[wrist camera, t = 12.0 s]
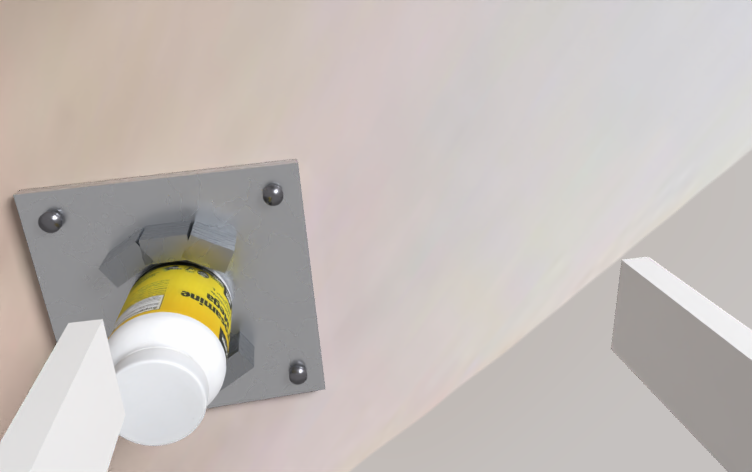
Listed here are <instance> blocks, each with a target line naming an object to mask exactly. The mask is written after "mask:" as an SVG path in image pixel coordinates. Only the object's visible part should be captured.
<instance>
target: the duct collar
mask: <svg viewBox="0 0 752 472" xmlns="http://www.w3.org/2000/svg"><path fill="white" fill-rule="evenodd" d="M13 196H14V199H15V203H16V206H17V210H18V213H19V216H20V220H21V223H22V226H23V230H24V233H25V237H26V240H27V243H28V247H29V250H30V254H31V257H32V260H33V264H34V267H35V271H36V274H37V277H38V281H39V284H40V288H41V291H42V294H43V298H44V301H45V304H46V308H47V311H48V315H49V318H50V321H51V325H52V328H53V332H54V335H55V338H56V342H58V340H59V339H60V337H61V335H62V333H63V332H64V330H65V328H66V327H67V325H68V323H73V322H81V321H90V320H99V319H103V322H104V327H105V331H106V335H107V339H108V337H109V335H110V333H111V331H112V329H113V327H114V325H115V323H116V320H117V318H118V316H119V314H120V312H121V310H122V307H123V305H124V303H125V301H126V299H127V296H128V294H129V292H130V290H131V288H132V286H133V285H134V283H135V281H136V280H137V279H138V278H139V276H140V275H141V274H142V273H143V272H145V271H146V270H147V269H148V268H150V267H152V266H153V265H156V264H158V263H166V262H173V261H181V260H188V261H191V262H194V263H197V264H200V265H202V266H205V267H208V268H211V269H213V270H214V271H216V272H217V273H218V274H219V275H220V276H221V277H222V279H223V280H224V281H225V283H226V285H227V286H228V289H229V291H230V294H231V299H232V318H231V329H230V341H229V350H228V360H227V368H226V374H225V378H224V382H223V385H222V387H221V389H220V391H219V393H218V394H217V396H216V397H215V398H214V400H213V401H212V402H211V403H210V404H209V405H208V406H207V407H206V408H212V407H219V406H225V405H231V404H237V403H243V402H249V401H256V400H262V399H268V398H274V397H280V396H286V395H293V394H299V393H305V392H311V391H317V390H323V389H325V382H324V373H323V365H322V357H321V349H320V340H319V332H318V324H317V316H316V308H315V299H314V291H313V283H312V275H311V266H310V258H309V250H308V242H307V234H306V225H305V217H304V209H303V201H302V192H301V184H300V176H299V168H298V161H297V159H292V160H283V161H274V162H265V163H256V164H247V165H239V166H230V167H221V168H212V169H203V170H194V171H185V172H176V173H168V174H159V175H150V176H141V177H132V178H123V179H114V180H105V181H96V182H88V183H79V184H70V185H61V186H52V187H43V188H34V189H25V190H19V191H18V192H17V193H15V194H14V195H13Z"/></svg>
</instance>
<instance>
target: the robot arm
mask: <svg viewBox="0 0 752 472" xmlns="http://www.w3.org/2000/svg"><path fill="white" fill-rule="evenodd" d="M611 349H612V350H613V352H614V353H615V354H616V355H617V356H618V357H619V358H620V359H621V360H622V361H623V362H624V363H625V364H626V365H627V366H628V367H629V368H630V369H631V370H632V371H633V373H634V374H635V375H636V376H637V377H638V378H639V379H640V380H641V381H642V382H643V383H644V384H645V385H646V386H647V387H648V388H649V389H650V390H651V391H652V392H653V394H654V395H655V396H656V397H657V398H658V399H659V400H660V401H661V402H662V403H663V404H664V405H665V406H666V407H667V408H668V409H669V410H670V411H671V412H672V414H673V415H674V416H675V417H676V418H677V419H678V420H679V421H680V422H681V423H682V424H683V425H684V426H685V427H686V428H687V429H688V430H689V431H690V433H691V434H692V435H693V436H694V437H695V438H696V439H697V440H698V441H699V442H700V443H701V444H702V445H703V446H704V447H705V448H706V449H707V450H708V451H709V453H711V455H712V456H713V457H714V458H715V459H716V460H717V461H718V462H719V463H720V464H721V465H722V466H723V467H724V468H725V469H726V470H727V471H728V472H752V330H751V329H749V328H748V327H747V326H745V325H744V324H742V323H741V322H740V321H738V320H737V319H735V318H734V317H732V316H731V315H730V314H728V313H727V312H725V311H724V310H723V309H721V308H720V307H718V306H717V305H716V304H714V303H713V302H711V301H710V300H709V299H707V298H706V297H704V296H703V295H702V294H700V293H699V292H697V291H696V290H695V289H693V288H692V287H690V286H689V285H687V284H686V283H684V282H683V281H682V280H680V279H679V278H678V277H676V276H675V275H673V274H672V273H671V272H669V271H668V270H666V269H665V268H663V267H662V266H661V265H659V264H658V263H657V262H655V261H654V260H652V259H651V258H649V257H642V258H633V259H624V260H621V269H620V277H619V286H618V295H617V303H616V311H615V320H614V329H613V337H612V345H611ZM124 417H125V411H124V406H123V402H122V398H121V394H120V390H119V385H118V381H117V377H116V373H115V369H114V364H113V360H112V356H111V352H110V348H109V343H108V339H107V335H106V331H105V327H104V322H103V319H99V320H90V321H81V322H73V323H68V325H67V327H66V328H65V330H64V332H63V333H62V335H61V337H60V339H59V340H58V342H57V344H56V346H55V347H54V349H53V351H52V353H51V354H50V356H49V358H48V360H47V361H46V363H45V365H44V367H43V368H42V370H41V372H40V374H39V375H38V377H37V379H36V381H35V382H34V384H33V386H32V388H31V389H30V391H29V393H28V395H27V396H26V398H25V400H24V402H23V403H22V405H21V407H20V409H19V410H18V412H17V414H16V416H15V417H14V419H13V421H12V423H11V424H10V426H9V428H8V430H7V431H6V433H5V435H4V437H3V438H2V440H1V442H0V472H107V471H108V467H109V464H110V461H111V458H112V455H113V452H114V449H115V446H116V442H117V439H118V436H119V433H120V430H121V427H122V424H123V421H124Z"/></svg>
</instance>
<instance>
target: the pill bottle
mask: <svg viewBox="0 0 752 472" xmlns="http://www.w3.org/2000/svg"><path fill="white" fill-rule="evenodd" d="M231 318H232V299H231V294H230V291H229V289H228V286H227V285H226V283H225V281H224V280H223V279H222V277H221V276H220V275H219V274H218V273H217V272H216V271H214V270H213V269H211V268H208V267H205V266H202V265H200V264H197V263H194V262H191V261H188V260H181V261H173V262H166V263H158V264H156V265H153V266H152V267H150V268H148V269H147V270H146V271H145V272H143V273H142V274H141V275H140V276H139V278H138V279H137V280H136V281H135V283H134V285H133V286H132V288H131V290H130V292H129V294H128V296H127V299H126V301H125V303H124V305H123V307H122V310H121V312H120V314H119V316H118V318H117V320H116V323H115V325H114V327H113V329H112V331H111V333H110V335H109V337H108V343H109V348H110V352H111V356H112V360H113V364H114V369H115V373H116V377H117V381H118V385H119V390H120V394H121V398H122V402H123V406H124V411H125V417H124V421H123V424H122V427H121V430H120V433H119V435H120V436H121V437H123V438H125V439H127V440H129V441H131V442H134V443H137V444H141V445H147V446H161V445H167V444H171V443H174V442H177V441H179V440H181V439H183V438H185V437H187V436H188V435H189V434H191V433H192V432H193V431H194V430H195V429H196V428H197V427H198V425H199V424H200V423H201V421H202V419H203V417H204V414H205V411H206V407H207V406H208V405H209V404H210V403H211V402H212V401H213V400H214V398H215V397H216V396H217V394H218V393H219V391H220V389H221V387H222V385H223V382H224V378H225V374H226V368H227V360H228V350H229V341H230V329H231Z"/></svg>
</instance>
